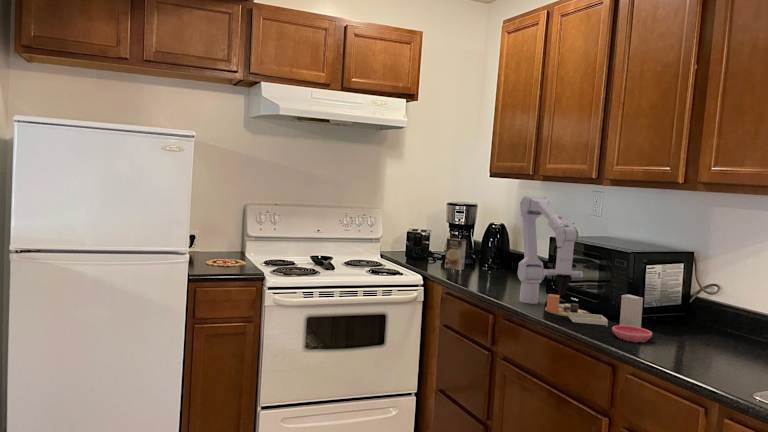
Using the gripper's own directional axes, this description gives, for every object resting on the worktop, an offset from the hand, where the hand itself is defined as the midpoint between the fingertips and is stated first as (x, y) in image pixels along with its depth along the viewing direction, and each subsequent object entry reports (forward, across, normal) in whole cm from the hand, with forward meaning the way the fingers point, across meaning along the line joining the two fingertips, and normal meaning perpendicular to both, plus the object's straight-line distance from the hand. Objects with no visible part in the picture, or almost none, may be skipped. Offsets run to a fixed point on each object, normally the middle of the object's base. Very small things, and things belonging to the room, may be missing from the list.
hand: (561, 294), depth 221 cm
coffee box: (+8, -21, +100) cm, 102 cm away
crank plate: (+8, +6, +6) cm, 12 cm away
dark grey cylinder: (+7, +5, +6) cm, 11 cm away
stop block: (+8, -1, +6) cm, 10 cm away
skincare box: (+9, +20, -14) cm, 26 cm away
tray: (+8, +8, -8) cm, 14 cm away
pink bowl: (+9, +15, -26) cm, 31 cm away
